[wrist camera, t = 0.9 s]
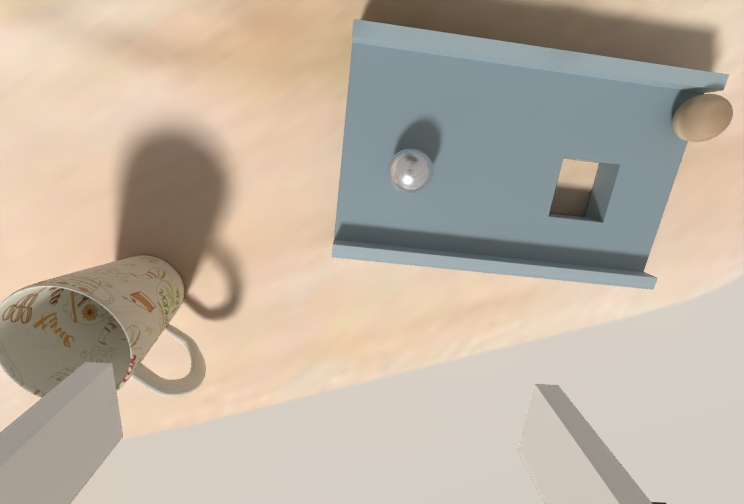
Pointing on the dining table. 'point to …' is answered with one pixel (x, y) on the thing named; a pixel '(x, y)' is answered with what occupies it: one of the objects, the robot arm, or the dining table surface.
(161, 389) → the mug
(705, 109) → the cork ball
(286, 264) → the dining table surface
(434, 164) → the plate
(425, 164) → the steel ball
